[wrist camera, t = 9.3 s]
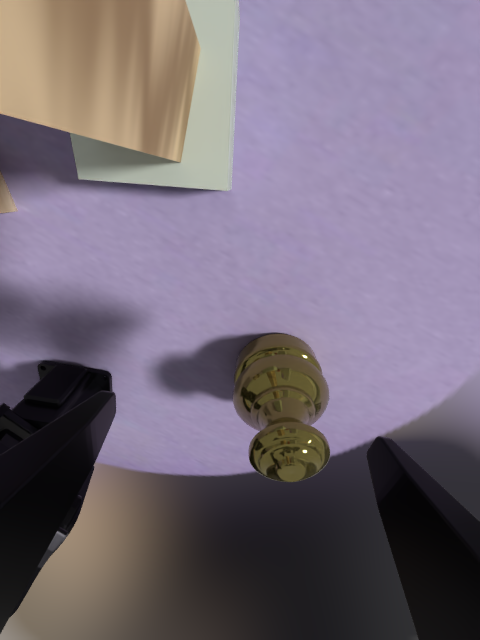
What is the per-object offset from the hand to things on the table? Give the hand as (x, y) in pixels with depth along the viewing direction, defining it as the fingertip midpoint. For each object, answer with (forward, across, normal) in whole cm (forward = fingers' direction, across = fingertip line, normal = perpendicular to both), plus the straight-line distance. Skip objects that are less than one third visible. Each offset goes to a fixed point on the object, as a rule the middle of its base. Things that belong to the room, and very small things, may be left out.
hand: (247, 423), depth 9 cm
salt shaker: (+13, -4, +7) cm, 16 cm away
